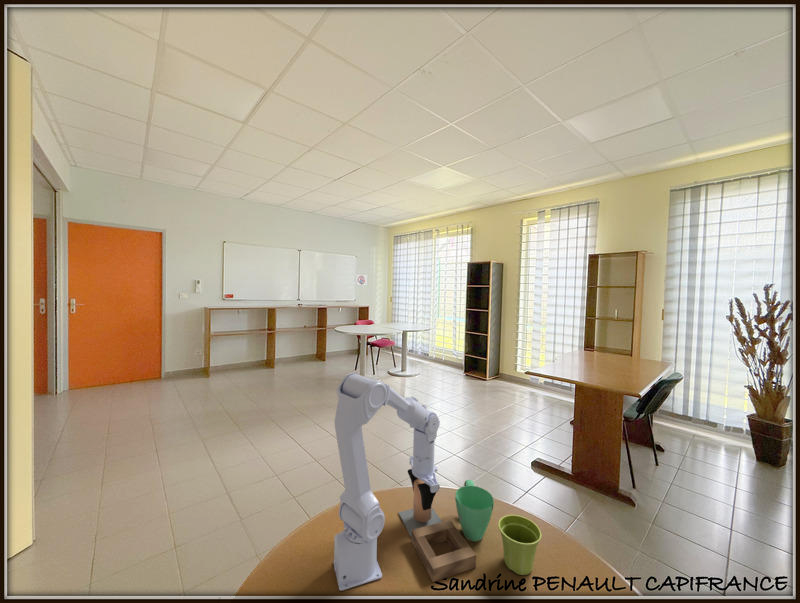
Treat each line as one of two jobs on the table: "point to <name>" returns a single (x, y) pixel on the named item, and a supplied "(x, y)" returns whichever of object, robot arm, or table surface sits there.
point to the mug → (473, 510)
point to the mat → (414, 524)
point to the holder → (447, 562)
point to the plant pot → (519, 542)
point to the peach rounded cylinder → (420, 505)
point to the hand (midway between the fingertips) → (422, 502)
